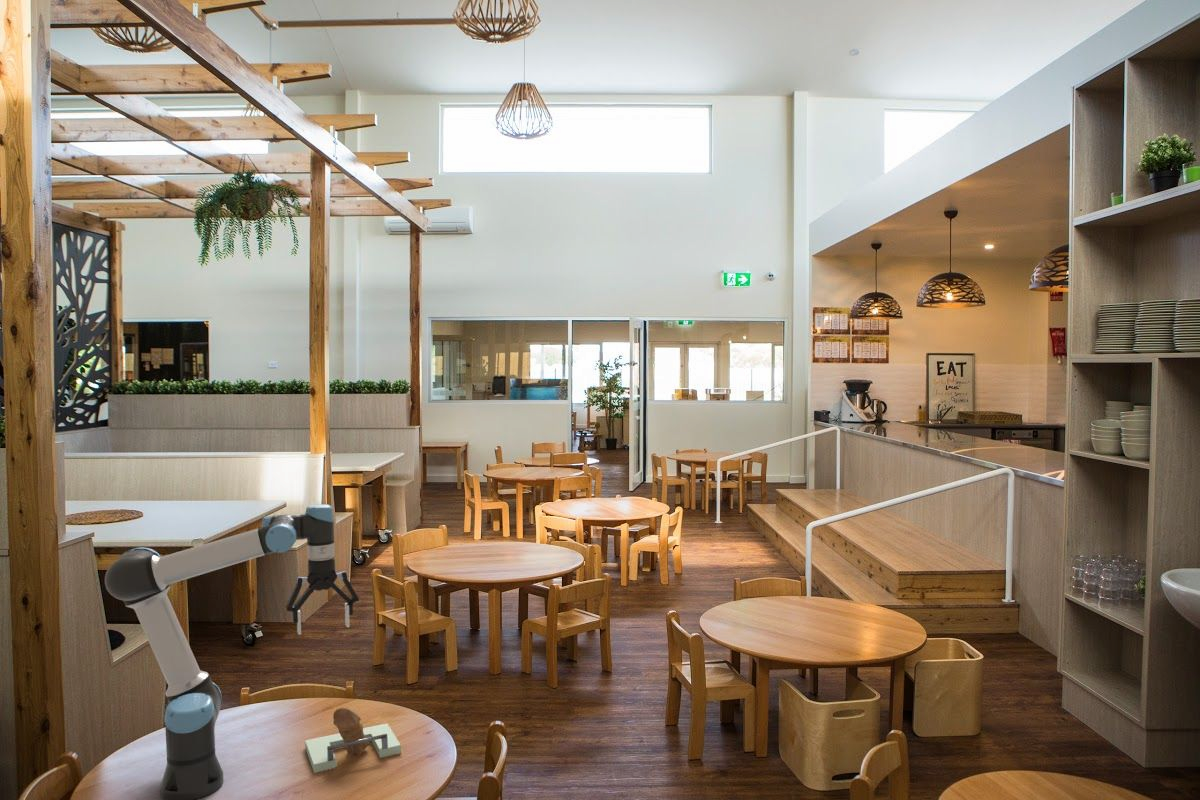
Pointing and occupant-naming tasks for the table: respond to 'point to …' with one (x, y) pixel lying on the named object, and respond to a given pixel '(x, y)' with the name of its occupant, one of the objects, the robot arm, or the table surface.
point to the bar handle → (330, 748)
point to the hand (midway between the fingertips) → (323, 629)
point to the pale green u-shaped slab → (319, 746)
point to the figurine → (350, 729)
